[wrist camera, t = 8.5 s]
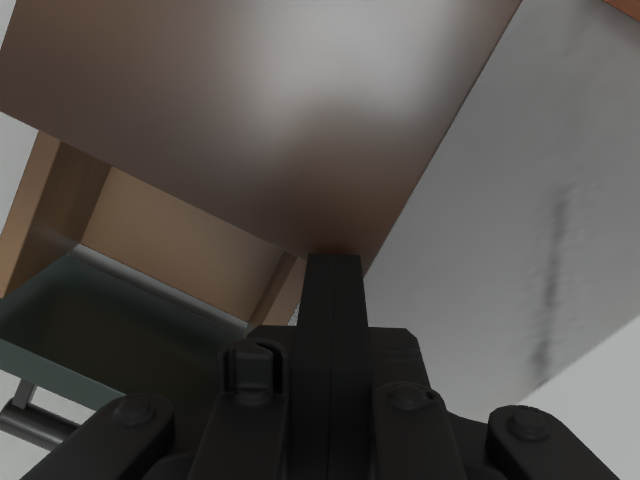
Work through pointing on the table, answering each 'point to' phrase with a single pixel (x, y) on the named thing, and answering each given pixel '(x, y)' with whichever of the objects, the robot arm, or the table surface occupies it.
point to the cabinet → (257, 101)
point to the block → (627, 7)
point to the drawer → (121, 291)
